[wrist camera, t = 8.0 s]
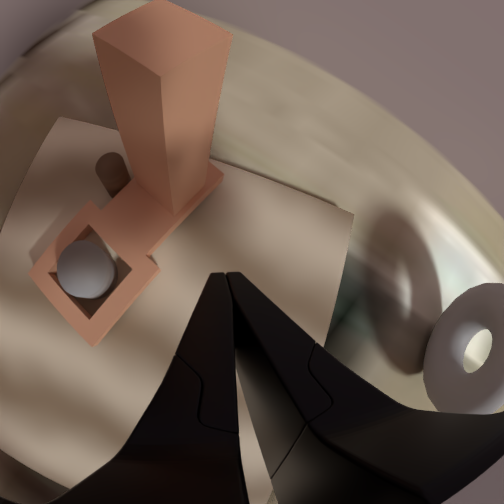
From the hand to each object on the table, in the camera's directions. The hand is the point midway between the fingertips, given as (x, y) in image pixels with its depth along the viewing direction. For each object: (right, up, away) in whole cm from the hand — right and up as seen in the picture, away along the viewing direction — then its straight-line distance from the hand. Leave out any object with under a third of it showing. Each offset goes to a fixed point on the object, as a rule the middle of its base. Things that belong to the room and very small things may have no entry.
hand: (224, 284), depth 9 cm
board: (-6, -4, +8) cm, 11 cm away
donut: (+15, -7, +12) cm, 21 cm away
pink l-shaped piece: (-6, +2, +7) cm, 10 cm away
